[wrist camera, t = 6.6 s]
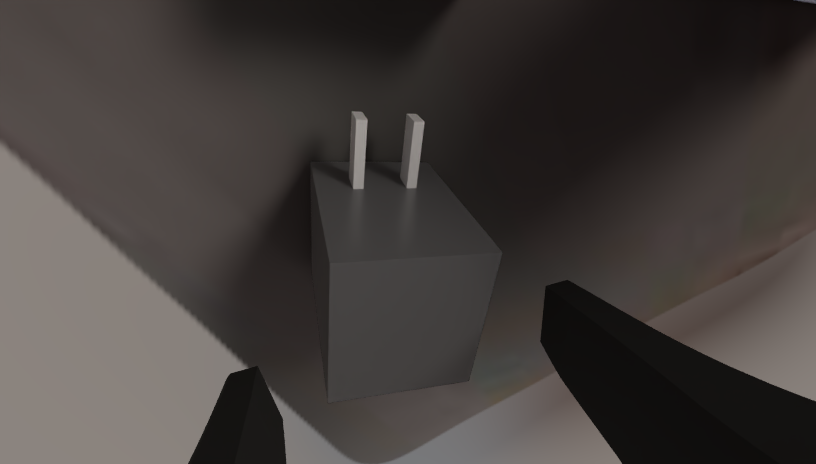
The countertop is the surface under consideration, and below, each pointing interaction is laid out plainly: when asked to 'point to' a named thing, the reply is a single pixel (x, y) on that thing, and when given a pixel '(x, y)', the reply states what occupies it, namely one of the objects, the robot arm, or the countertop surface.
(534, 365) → the countertop surface
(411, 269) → the charger
